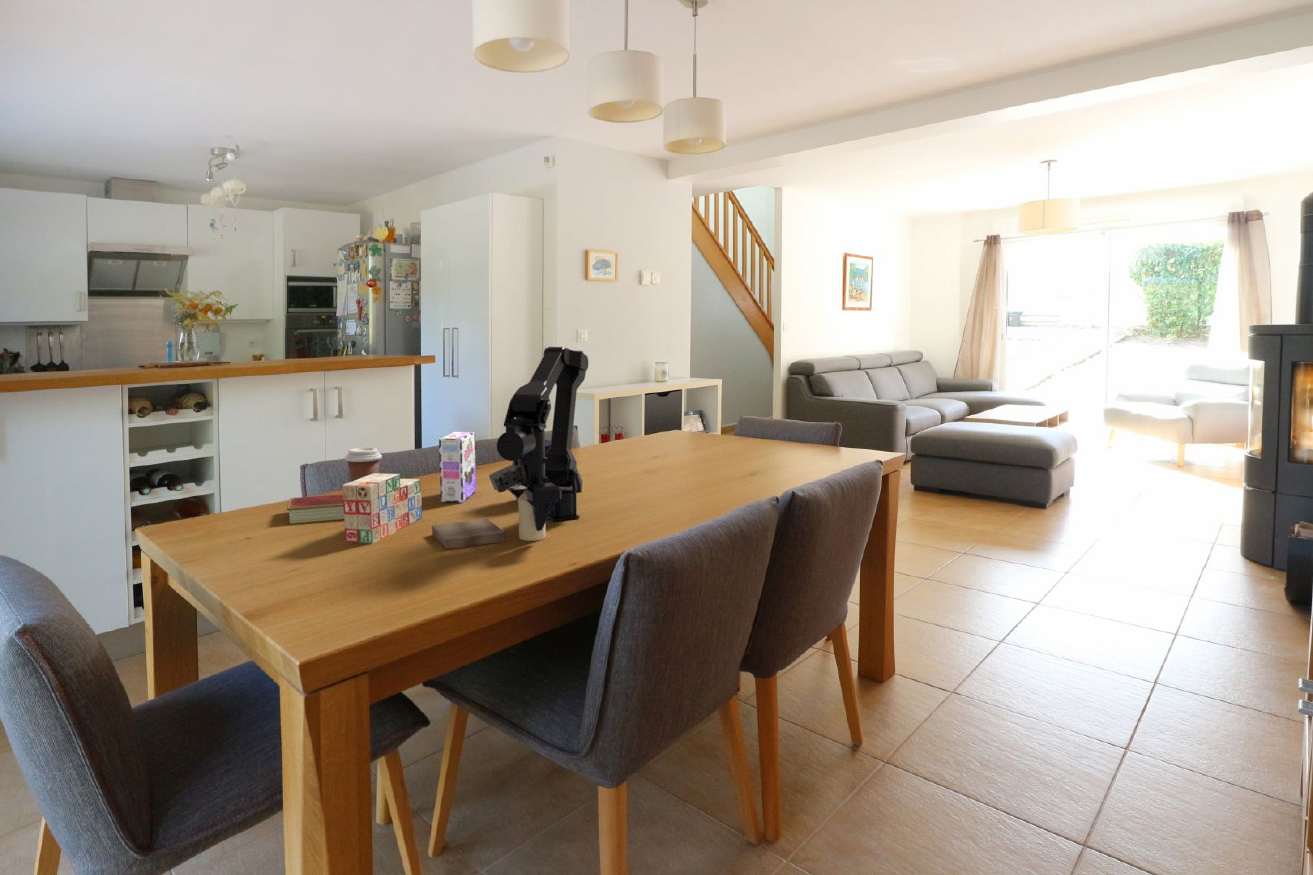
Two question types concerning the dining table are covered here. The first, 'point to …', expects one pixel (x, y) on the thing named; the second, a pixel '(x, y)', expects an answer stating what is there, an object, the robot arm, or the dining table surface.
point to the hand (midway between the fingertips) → (532, 525)
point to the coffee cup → (362, 462)
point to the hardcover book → (316, 508)
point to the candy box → (457, 466)
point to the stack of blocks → (379, 506)
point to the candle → (528, 521)
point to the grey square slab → (468, 533)
